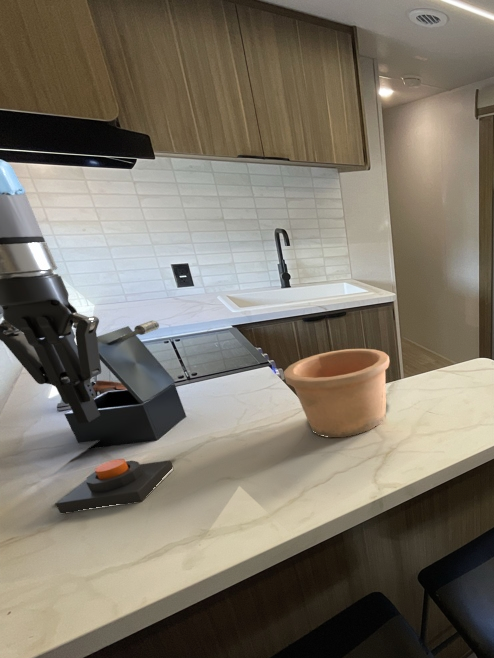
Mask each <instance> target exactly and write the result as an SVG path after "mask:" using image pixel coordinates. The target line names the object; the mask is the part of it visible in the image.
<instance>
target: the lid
mask: <svg viewBox="0 0 494 658" xmlns="http://www.w3.org/2000/svg"><path fill="white" fill-rule="evenodd" d="M159 328H160V324H159V322H158V321H156V320H149V321H147V322H144V323H140V324H138V325H136V326H135V327H134V328H133V329H131V327H130V326H129V325H126V326H123V327H121V328H119V329H118V328H117V329H116V330H112V331H110V332H106V333H104V334H101V335H97V342H98V349H99V357H100V362H101V363H102V364H103V365H104V366H105V367H106V368H107V369H108V370H109V371H110V373H111V374H113V375H114V377H115V378H116V379H117V380H118V381H119V383H122V384H123V385H124V386H125V388H126V389H127V390H128V391H129V392H130V393H131V394H132V395H133V396H134V397H135V399H136V400H137V401H138V402H139V403H140V404H141V403H143V402H145V401H146V400H148V399H149V398H151V397H153V396H154V395H156V394H157V393H159V392H160V391H162V390H163V389H165V388H167V387H168V386H170V385H172V384H175V383H176V380H175V379H174V378H173V377H172V376H171V375H170V373H169V372H168V370H166V368H165V367H164V366H163V365H162V364H161V363H160V362H159V360H158V359H157V358H156V357H155V356H154V354H153V353H152V352H151V351H150V350H149V348H148V347H147V346H146V345H145V343H143V342H142V340H141V339H140V338H139V337H138V336H137V335H140V336H142V335H145V334H149V333H151V332H153V331H156V330H158V329H159Z"/></svg>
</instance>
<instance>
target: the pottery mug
mask: <svg viewBox="0 0 494 658" xmlns="http://www.w3.org/2000/svg"><path fill="white" fill-rule="evenodd" d="M92 386H93V389H94V391H95V393H96V397H97V396H99V395H101V394H103V393H105V392H107V391H116V390H125V389H126V388H125V386H124V385H123V384H122V383H121V382H120V381H119V382H117V381H111V380H96V381H95V384H94V385H92ZM98 393H99V394H98Z"/></svg>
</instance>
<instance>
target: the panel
mask: <svg viewBox="0 0 494 658" xmlns="http://www.w3.org/2000/svg"><path fill="white" fill-rule="evenodd" d="M125 461H126V463H127V465H128V468H129V469H128V470H127V471H126V472H124V473H122V474H120V475H118V476H114V477H111V478H108V479H101V480H100V479H99V478H98V476H97V474H96V472H95V471H94V472H93V473H91V474H90V475H88V476H87V477H86V479H85V480H84V481H83V482H81V483H80V484H78V485H77V486H76V487H75V488H74V489H72V490H71V491H69V492H68V493H67V494H66V495H64V496H63V497H62V498H60V499H59V500H58V501H57V502H55V503H54V504H55V506H56V509H57V510H58V512H59V514H60V513H65V514H67V513H66V512H72V513H75V512H74V511H78V510H83V509H89V508H96V507H102V506H109V505H116V504H125V505H129V504H128V503H132V504H135V503H134V502H138V503H143V501H145V500H146V499H147V497H148V496H149V495H150V494H151V493H152V492H153V491H154V490H153V488H154V487H156V485H157V484H158V483H159V482H160V481H161V480H162V478H163V477H164V476H165V475H166V474H167V473H168V472H169V471H170V470H171V469H172V467H173V468H174V465H173V463H172V461H171V460H161V461H154V462H147V463H139V461H136V460H125ZM156 488H157V487H156ZM152 490H153V491H152ZM151 491H152V492H151ZM150 492H151V493H150ZM149 493H150V494H149ZM148 494H149V495H148ZM147 495H148V496H147ZM146 496H147V497H146ZM78 512H79V511H78Z"/></svg>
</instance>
